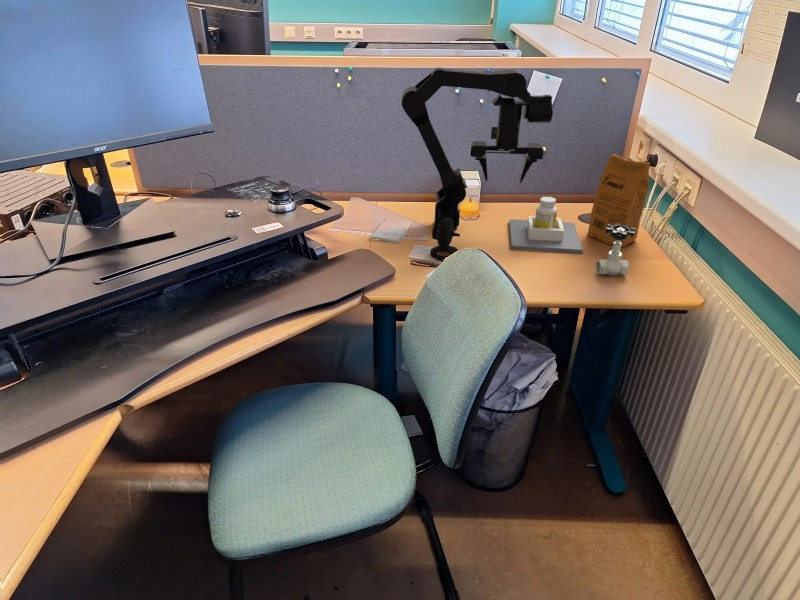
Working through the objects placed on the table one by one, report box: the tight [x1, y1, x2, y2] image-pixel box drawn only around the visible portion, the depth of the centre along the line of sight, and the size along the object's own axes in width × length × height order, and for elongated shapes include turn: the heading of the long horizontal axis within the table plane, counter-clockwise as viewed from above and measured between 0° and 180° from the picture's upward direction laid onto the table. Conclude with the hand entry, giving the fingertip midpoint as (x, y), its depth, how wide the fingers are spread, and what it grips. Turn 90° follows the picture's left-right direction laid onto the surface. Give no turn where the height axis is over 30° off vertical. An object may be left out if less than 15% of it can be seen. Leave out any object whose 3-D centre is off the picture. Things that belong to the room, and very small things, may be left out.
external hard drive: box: [369, 227, 407, 244], centre depth 152 cm, size 2×8×12 cm
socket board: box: [509, 215, 584, 254], centre depth 148 cm, size 18×18×4 cm
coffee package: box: [587, 153, 652, 248], centre depth 143 cm, size 10×12×22 cm
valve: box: [595, 223, 636, 277], centre depth 127 cm, size 7×7×12 cm
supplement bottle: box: [534, 196, 558, 229], centre depth 146 cm, size 5×5×10 cm
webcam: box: [429, 218, 461, 262], centre depth 137 cm, size 8×8×10 cm
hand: (503, 181), depth 149 cm, fingers open, 9 cm apart
